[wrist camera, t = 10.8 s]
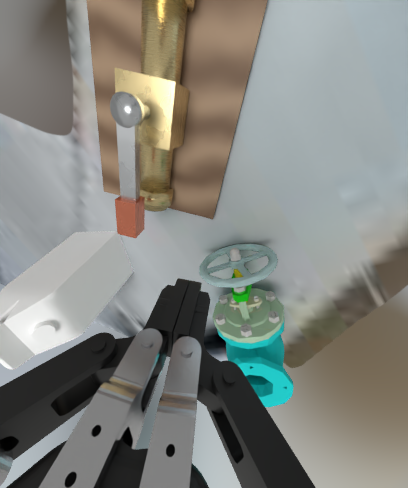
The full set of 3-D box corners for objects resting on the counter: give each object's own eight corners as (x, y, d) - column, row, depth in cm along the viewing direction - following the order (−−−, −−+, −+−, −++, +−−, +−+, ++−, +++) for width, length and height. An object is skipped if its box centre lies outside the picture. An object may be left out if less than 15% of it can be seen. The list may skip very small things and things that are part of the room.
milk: (75, 232, 47) (-68, 328, 25) (118, 231, 45) (2, 335, 23) (95, 271, 53) (-6, 375, 31) (133, 271, 51) (53, 384, 29)
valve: (224, 404, 40) (182, 281, 29) (230, 332, 55) (205, 235, 44) (300, 410, 36) (285, 271, 25) (283, 331, 51) (270, 224, 40)
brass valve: (147, -35, 23) (81, -145, 13) (205, -22, 22) (180, -125, 13) (142, 194, 38) (110, 218, 29) (176, 203, 38) (155, 230, 28)
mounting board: (89, -58, 23) (80, -68, 22) (272, -18, 22) (273, -26, 21) (108, 189, 39) (103, 191, 38) (213, 216, 39) (212, 219, 38)
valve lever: (147, 97, 20) (135, 94, 18) (145, 229, 29) (137, 238, 27) (119, 91, 20) (104, 87, 18) (126, 224, 29) (116, 233, 27)
